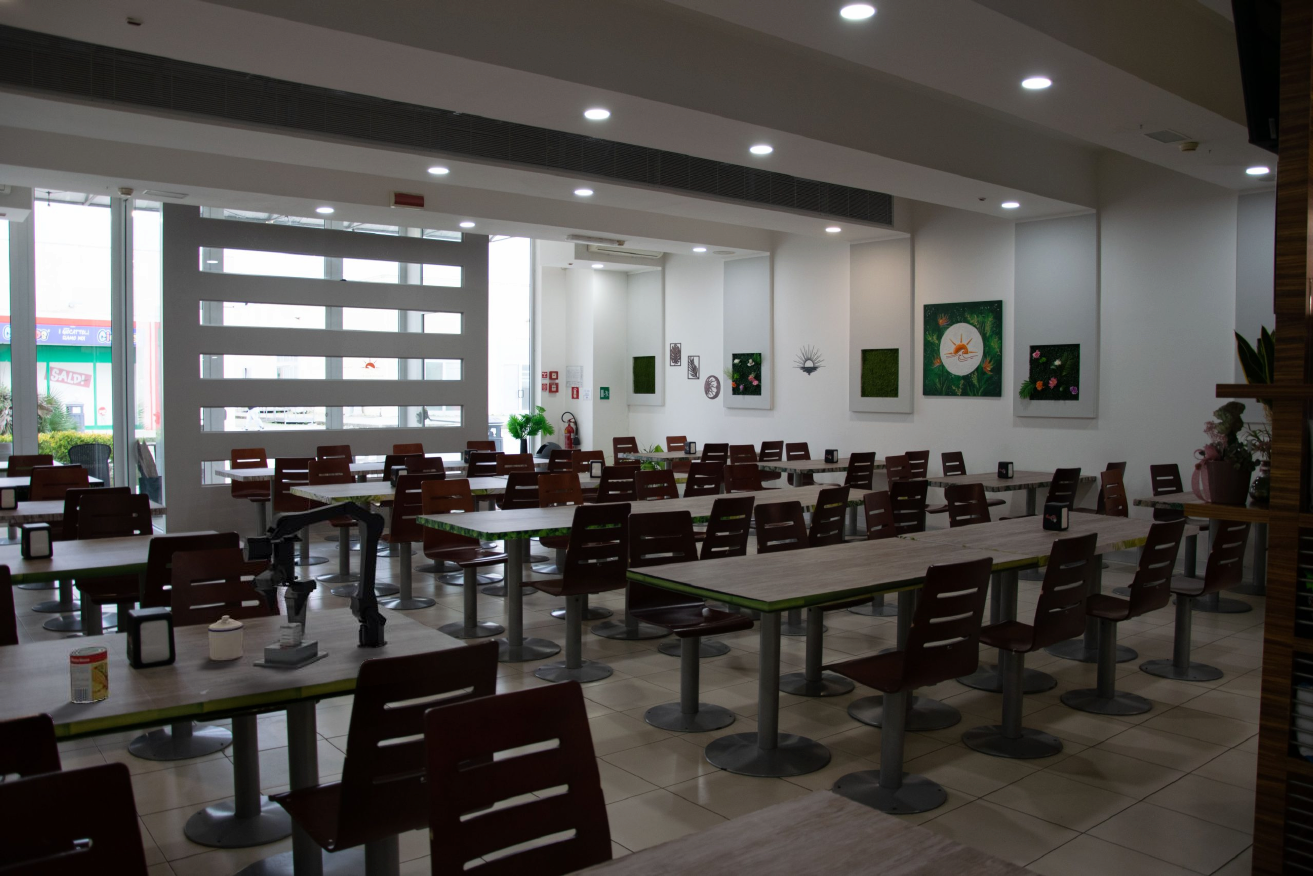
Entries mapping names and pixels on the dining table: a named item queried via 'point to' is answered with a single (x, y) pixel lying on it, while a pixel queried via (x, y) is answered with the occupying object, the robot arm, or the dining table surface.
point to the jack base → (291, 655)
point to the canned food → (89, 674)
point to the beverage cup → (290, 610)
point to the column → (290, 634)
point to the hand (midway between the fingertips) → (284, 614)
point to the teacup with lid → (226, 639)
